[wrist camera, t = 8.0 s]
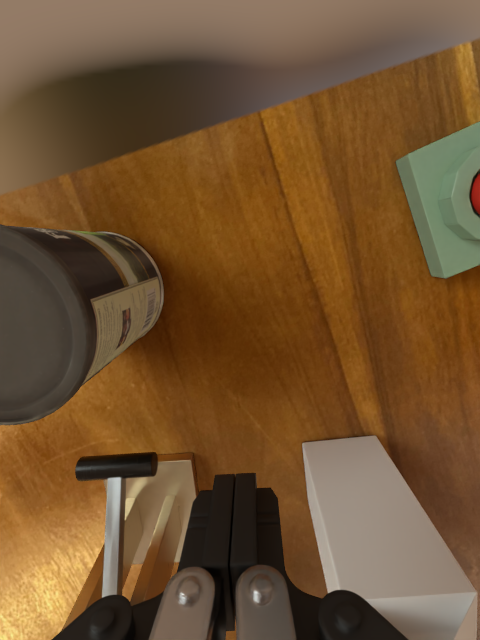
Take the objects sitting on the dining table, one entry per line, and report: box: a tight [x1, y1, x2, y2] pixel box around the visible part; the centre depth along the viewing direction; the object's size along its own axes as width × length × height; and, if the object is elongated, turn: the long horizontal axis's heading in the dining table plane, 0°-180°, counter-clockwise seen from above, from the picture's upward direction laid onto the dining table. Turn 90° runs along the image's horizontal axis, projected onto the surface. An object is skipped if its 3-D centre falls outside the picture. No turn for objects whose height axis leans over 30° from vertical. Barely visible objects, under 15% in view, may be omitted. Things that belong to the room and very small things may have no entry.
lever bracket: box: [62, 453, 199, 630], centre depth 28 cm, size 12×9×14 cm
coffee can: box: [0, 224, 164, 425], centre depth 23 cm, size 10×10×14 cm
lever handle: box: [75, 452, 158, 598], centre depth 25 cm, size 13×6×2 cm, turn 5°
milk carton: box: [302, 436, 477, 640], centre depth 24 cm, size 7×7×19 cm
